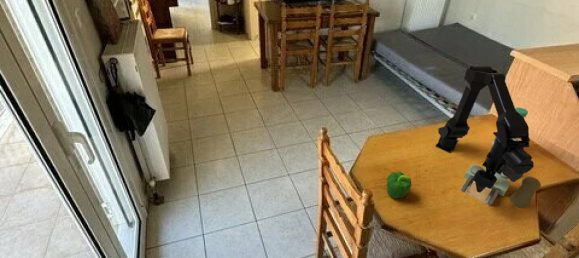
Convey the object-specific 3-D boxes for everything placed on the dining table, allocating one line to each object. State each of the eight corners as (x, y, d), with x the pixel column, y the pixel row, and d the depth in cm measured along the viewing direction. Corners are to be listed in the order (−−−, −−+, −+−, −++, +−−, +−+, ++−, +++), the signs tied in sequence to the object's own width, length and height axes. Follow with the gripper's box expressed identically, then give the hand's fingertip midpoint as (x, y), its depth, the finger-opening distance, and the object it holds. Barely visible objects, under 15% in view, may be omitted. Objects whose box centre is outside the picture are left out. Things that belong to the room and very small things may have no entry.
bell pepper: (379, 191, 117) (384, 172, 111) (393, 182, 121) (398, 163, 115) (397, 206, 112) (403, 186, 106) (411, 195, 116) (418, 176, 110)
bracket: (460, 190, 118) (462, 185, 116) (468, 179, 122) (470, 174, 121) (490, 206, 112) (493, 201, 110) (497, 193, 116) (500, 189, 115)
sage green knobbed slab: (464, 177, 123) (467, 170, 121) (470, 168, 127) (473, 161, 125) (503, 196, 115) (506, 189, 113) (508, 186, 119) (512, 179, 117)
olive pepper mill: (506, 195, 116) (519, 174, 109) (521, 194, 116) (535, 173, 109) (516, 208, 111) (531, 187, 104) (533, 207, 111) (548, 186, 105)
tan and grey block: (468, 191, 117) (473, 181, 114) (472, 185, 120) (477, 174, 116) (485, 200, 114) (491, 189, 110) (489, 193, 116) (495, 183, 113)
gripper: (519, 179, 95) (498, 212, 104) (535, 150, 106) (515, 182, 115) (480, 161, 101) (464, 194, 110) (499, 136, 112) (482, 168, 121)
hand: (483, 185), depth 114 cm, fingers open, 9 cm apart
